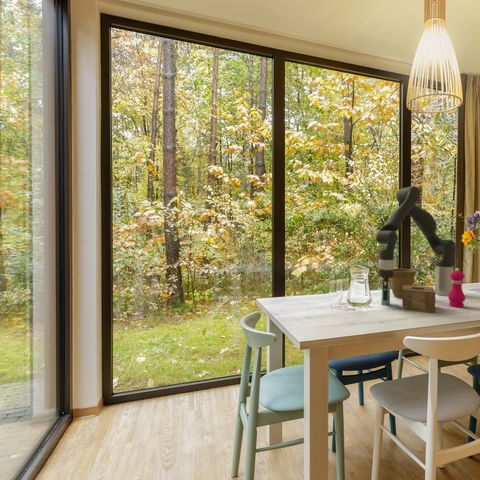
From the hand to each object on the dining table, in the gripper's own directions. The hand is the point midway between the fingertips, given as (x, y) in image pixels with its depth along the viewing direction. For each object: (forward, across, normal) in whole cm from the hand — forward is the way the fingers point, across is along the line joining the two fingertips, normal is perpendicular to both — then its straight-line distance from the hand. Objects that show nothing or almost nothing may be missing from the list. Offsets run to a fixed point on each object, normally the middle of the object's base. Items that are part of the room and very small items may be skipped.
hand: (385, 298), depth 167 cm
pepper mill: (+3, -12, +33) cm, 35 cm away
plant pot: (+3, -23, +7) cm, 24 cm away
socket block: (+3, 0, +15) cm, 15 cm away
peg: (+3, 0, 0) cm, 3 cm away
